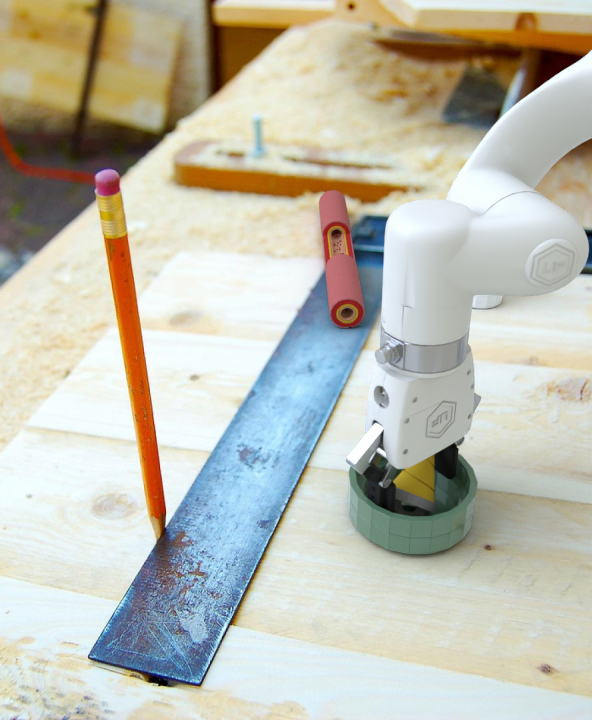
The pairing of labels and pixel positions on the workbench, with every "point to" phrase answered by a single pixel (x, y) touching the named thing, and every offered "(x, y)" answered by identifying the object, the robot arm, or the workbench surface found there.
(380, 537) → the bowl
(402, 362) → the robot arm
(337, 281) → the blood vessel
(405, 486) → the drill bit
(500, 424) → the workbench surface
